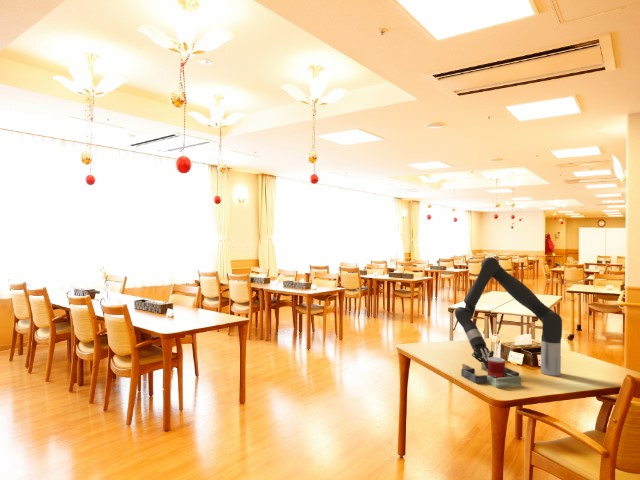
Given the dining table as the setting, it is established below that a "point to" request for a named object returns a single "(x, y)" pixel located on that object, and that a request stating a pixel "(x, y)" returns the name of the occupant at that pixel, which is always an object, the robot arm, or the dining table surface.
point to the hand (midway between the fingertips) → (490, 368)
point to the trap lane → (508, 381)
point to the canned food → (496, 367)
